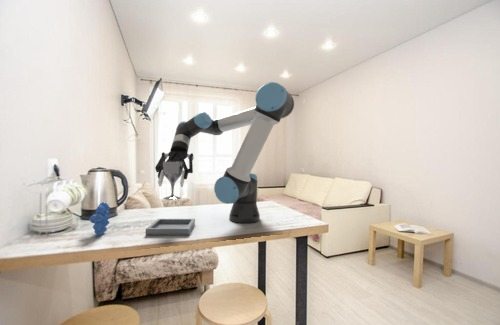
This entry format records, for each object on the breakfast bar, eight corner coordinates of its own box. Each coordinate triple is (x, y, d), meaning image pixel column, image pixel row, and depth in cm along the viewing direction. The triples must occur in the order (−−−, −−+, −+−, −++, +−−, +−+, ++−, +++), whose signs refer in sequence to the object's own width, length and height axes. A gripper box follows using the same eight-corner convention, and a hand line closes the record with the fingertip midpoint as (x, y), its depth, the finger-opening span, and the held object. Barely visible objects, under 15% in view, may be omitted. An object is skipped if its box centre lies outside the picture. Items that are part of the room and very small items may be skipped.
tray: (194, 224, 102) (194, 218, 102) (188, 235, 87) (188, 228, 87) (158, 224, 100) (158, 218, 100) (145, 235, 85) (145, 229, 85)
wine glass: (176, 200, 89) (177, 162, 89) (157, 199, 91) (158, 161, 90) (185, 197, 97) (186, 162, 97) (168, 196, 98) (169, 161, 98)
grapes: (94, 229, 91) (95, 200, 91) (113, 228, 93) (114, 199, 93) (81, 239, 80) (82, 205, 80) (103, 238, 82) (104, 205, 82)
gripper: (203, 152, 110) (197, 190, 94) (159, 151, 108) (145, 189, 92) (202, 140, 104) (196, 178, 88) (155, 139, 102) (141, 177, 87)
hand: (170, 184), depth 90 cm, fingers closed on wine glass, 8 cm apart
